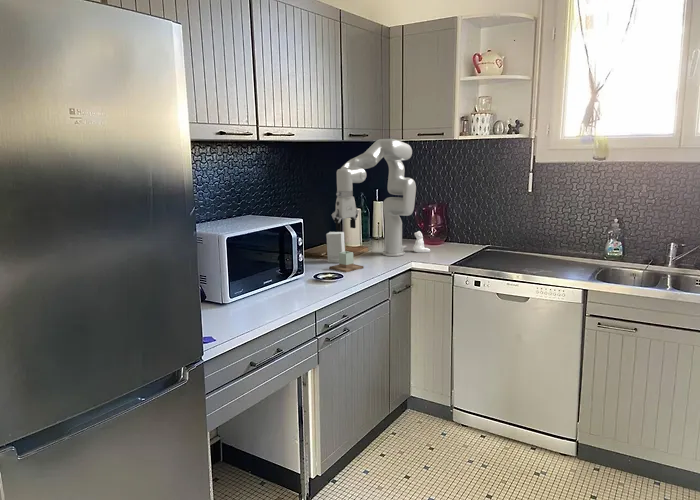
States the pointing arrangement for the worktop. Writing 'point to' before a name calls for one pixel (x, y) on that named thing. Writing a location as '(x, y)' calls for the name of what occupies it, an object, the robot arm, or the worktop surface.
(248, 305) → the worktop surface
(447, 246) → the worktop surface
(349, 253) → the sleeve
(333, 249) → the skincare box
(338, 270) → the pin board
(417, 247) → the white creature statuette
